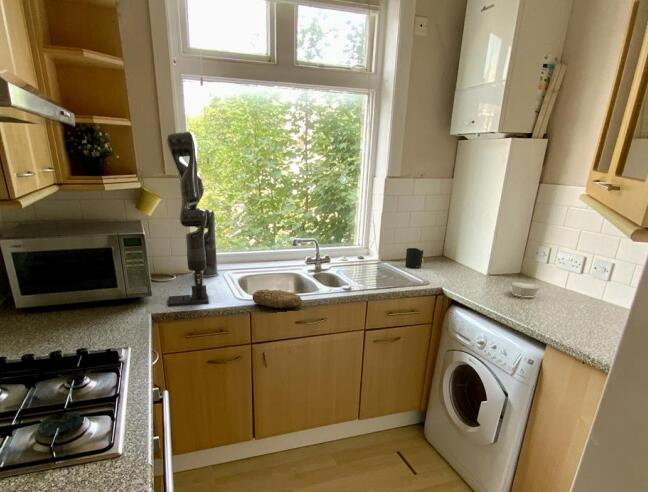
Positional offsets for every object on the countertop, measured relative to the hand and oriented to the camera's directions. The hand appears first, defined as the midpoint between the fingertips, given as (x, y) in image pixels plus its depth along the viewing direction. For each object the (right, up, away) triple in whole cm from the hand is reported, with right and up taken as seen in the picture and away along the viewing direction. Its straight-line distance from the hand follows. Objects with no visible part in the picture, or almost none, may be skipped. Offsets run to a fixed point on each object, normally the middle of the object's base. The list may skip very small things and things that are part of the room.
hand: (199, 297), depth 180 cm
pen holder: (+108, +21, +61) cm, 126 cm away
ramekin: (+147, +1, +14) cm, 147 cm away
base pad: (-9, -2, -2) cm, 9 cm away
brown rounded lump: (+34, -4, -5) cm, 35 cm away
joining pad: (-2, -1, 0) cm, 2 cm away
